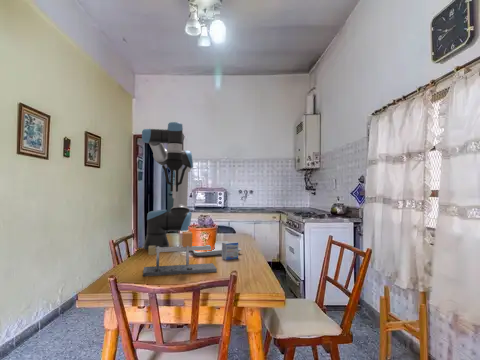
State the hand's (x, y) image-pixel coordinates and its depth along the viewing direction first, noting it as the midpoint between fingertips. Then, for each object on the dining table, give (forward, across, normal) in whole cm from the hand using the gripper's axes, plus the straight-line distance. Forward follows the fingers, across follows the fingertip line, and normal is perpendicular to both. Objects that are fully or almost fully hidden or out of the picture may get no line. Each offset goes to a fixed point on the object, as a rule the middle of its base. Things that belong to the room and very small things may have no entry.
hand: (174, 198), depth 164 cm
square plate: (+33, +24, +19) cm, 45 cm away
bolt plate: (+32, +2, -20) cm, 38 cm away
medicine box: (+33, +30, -1) cm, 44 cm away
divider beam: (+30, +2, -21) cm, 37 cm away
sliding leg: (+30, +5, -20) cm, 36 cm away
